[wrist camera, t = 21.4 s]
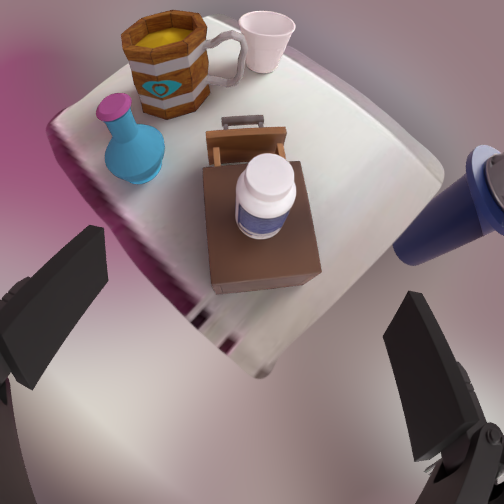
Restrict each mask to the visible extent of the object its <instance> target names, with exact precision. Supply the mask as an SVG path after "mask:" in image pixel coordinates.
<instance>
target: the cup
mask: <svg viewBox="0 0 504 504" xmlns="http://www.w3.org/2000/svg"><path fill="white" fill-rule="evenodd" d="M239 25H240V27H241V33H242V34H244V37H245V40H246V42H247V45H248V50H247V54H246V64H247V66H248V68H249V69H251V70H252V71H254V72H257V73H269V72H272V71H274V70H275V69H276V68H277V66H278V64H279V62H280V59H281V57H282V54H283V52H284V50H285V48H286V45H287V43H288V41H289V39H290V36H291V34H292V33H293V32H294V30H295V24H294V22H293V21H292V20H291V19H290V18H288V17H286V16H284V15H282V14H279V13H275V12H270V11H254V12H250V13H247V14H245V15H243V16H242V17H241V18H240V19H239Z"/></svg>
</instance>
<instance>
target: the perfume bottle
mask: <svg viewBox="0 0 504 504" xmlns="http://www.w3.org/2000/svg"><path fill="white" fill-rule="evenodd" d="M131 103H132V100H131V97H130V96H129V95H127V94H125V93H115V94H111V95H109V96H107V97H106V98H104V99H103V100H102V102H101V103H100V104H99V106H98V108H97V110H96V116H97V118H98V119H99V120H101V121H103V122H104V123H106V125H107V127H108V129H109V131H110V133H111V135H112V136H113V137H112V139H111V140H110V142H109V144H108V146H107V149H106V152H105V163H106V166H107V168H108V169H109V170H110V171H111V172H112V173H113V174H114V175H115V176H117V177H118V178H121V179H123V180H126V181H128V182H130V183H133V184H143V183H146V182H148V181H150V180H152V179H153V178H154V177H155V176H156V175H157V174H158V173H159V171H160V169H161V165H162V159H163V156H164V150H165V145H164V139H163V136H162V134H161V133H160V132H159V131H158V130H157V129H156V128H154V127H152V126H148V125H143V124H136V122H135V120H134V117H133V115H132V112H131V110H130V109H131Z"/></svg>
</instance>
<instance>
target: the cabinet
mask: <svg viewBox="0 0 504 504" xmlns="http://www.w3.org/2000/svg"><path fill="white" fill-rule="evenodd" d="M289 163H290V165H291V166H292V168H293V171H294V183H295V186H296V197H295V200H294V203H293V205H292V207H291V209H290V212H289V214H288V216H287V218H286V220H285V222H284V224H283V226H282V228H281V229H280V231H279V232H278V233H277V234H275V235H274V236H272V237H270V238H267V239H254V238H251V237H249V236H247V235H246V234H244V233H243V232H242V231H241V230H240V228H239V226H238V225H237V222H236V217H235V207H236V185H237V181H238V179H239V177H240V175H241V174H242V172H243V171H244V170H245V169H246V167H247V165H248V164H239V165H227V166H216V167H206V168H203V186H204V201H205V215H206V229H207V241H208V253H209V264H210V275H211V284H212V287H213V289H214V291H215V294H216V295H218V294H228V293H237V292H247V291H256V290H264V289H273V288H281V287H289V286H298V285H304V284H305V283H307V282H308V281H310V280H311V279H313V278H314V277H316V276H317V275H318V274H320V273H321V272H322V270H321V264H320V258H319V253H318V247H317V241H316V236H315V231H314V225H313V220H312V215H311V210H310V205H309V200H308V195H307V190H306V185H305V181H304V176H303V172H302V167H301V163H300V161H289Z"/></svg>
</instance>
